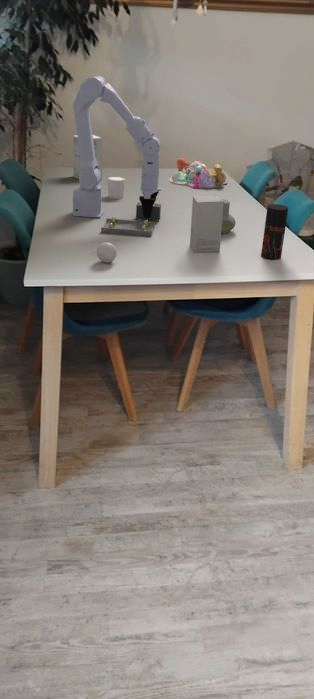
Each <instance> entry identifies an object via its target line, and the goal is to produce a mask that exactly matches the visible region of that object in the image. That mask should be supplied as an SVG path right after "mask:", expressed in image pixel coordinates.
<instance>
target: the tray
mask: <svg viewBox="0 0 314 699" xmlns="http://www.w3.org/2000/svg"><path fill="white" fill-rule="evenodd" d="M155 222H156V221H148V220H136V219H125V218H124V219H123V218H122V219H121V218H116V217H114V216H112V217H111V218H110V217H107V218H106V221H105V223H104V225H103V226H102V227H101V228H100V233H102V234H114V235H129V236H138V237H139V236H140V237H152V236H153V233H154V229H155V224H156V223H155Z"/></svg>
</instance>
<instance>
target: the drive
mask: <svg viewBox="0 0 314 699" xmlns="http://www.w3.org/2000/svg"><path fill="white" fill-rule="evenodd" d="M135 208H136V209H135V220H136V219H141V220H140V221H144V220H153V221H152V222H160V221H159V220H161V214H162V213H161V210H162V203H154V205H153V208H152V213H151V217H150V218H144V215H143V208H142V204H141V202H140V201H139V202H137V204H136V207H135Z"/></svg>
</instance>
